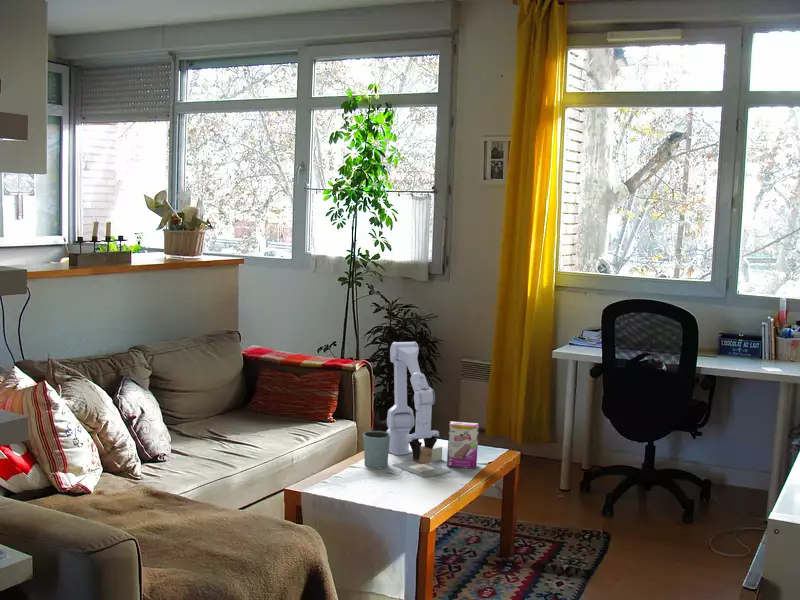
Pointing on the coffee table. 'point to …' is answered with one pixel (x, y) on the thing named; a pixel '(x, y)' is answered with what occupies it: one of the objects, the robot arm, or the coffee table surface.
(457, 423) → the candy bar box
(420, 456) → the walnut block
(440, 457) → the sage block
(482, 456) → the coffee table surface
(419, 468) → the board
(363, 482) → the coffee table surface
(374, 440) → the green plant pot
